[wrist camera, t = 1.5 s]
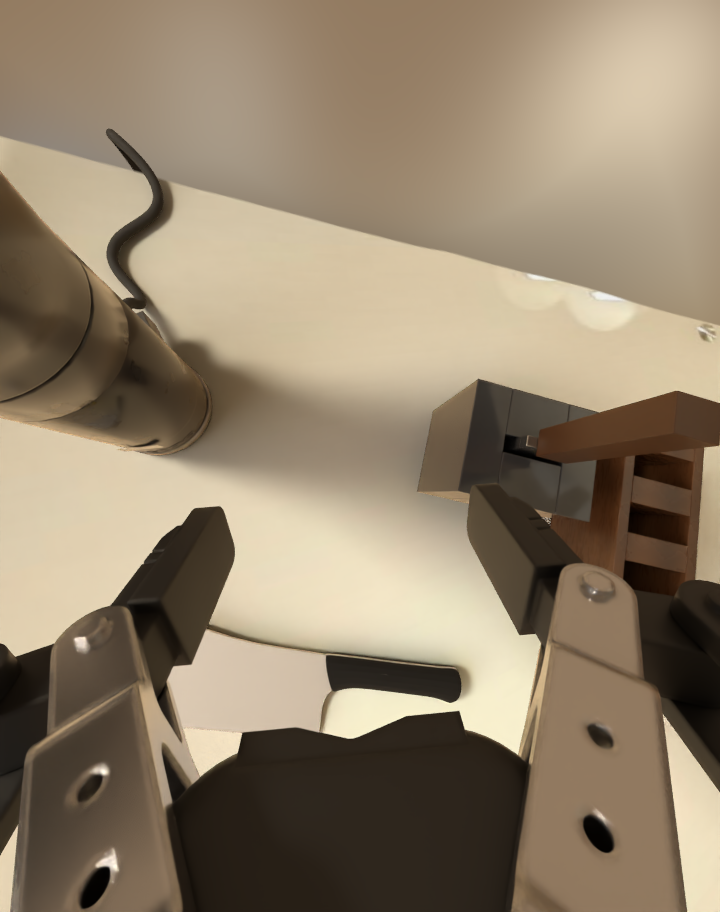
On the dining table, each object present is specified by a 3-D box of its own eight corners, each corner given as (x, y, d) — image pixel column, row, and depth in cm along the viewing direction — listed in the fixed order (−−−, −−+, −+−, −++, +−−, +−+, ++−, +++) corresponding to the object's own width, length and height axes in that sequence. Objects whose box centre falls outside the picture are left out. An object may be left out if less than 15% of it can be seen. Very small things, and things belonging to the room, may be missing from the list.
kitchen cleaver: (94, 726, 27) (122, 607, 27) (107, 710, 28) (134, 598, 29) (446, 767, 30) (468, 661, 30) (440, 750, 32) (461, 650, 32)
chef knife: (453, 467, 35) (657, 428, 14) (457, 449, 35) (661, 385, 14) (488, 475, 35) (735, 450, 14) (491, 457, 35) (737, 407, 15)
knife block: (416, 491, 34) (458, 491, 24) (432, 410, 35) (478, 378, 25) (512, 514, 35) (590, 522, 25) (525, 435, 36) (602, 413, 26)
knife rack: (542, 583, 34) (609, 610, 27) (561, 440, 37) (628, 425, 29) (608, 597, 35) (692, 627, 27) (623, 456, 38) (704, 446, 30)
